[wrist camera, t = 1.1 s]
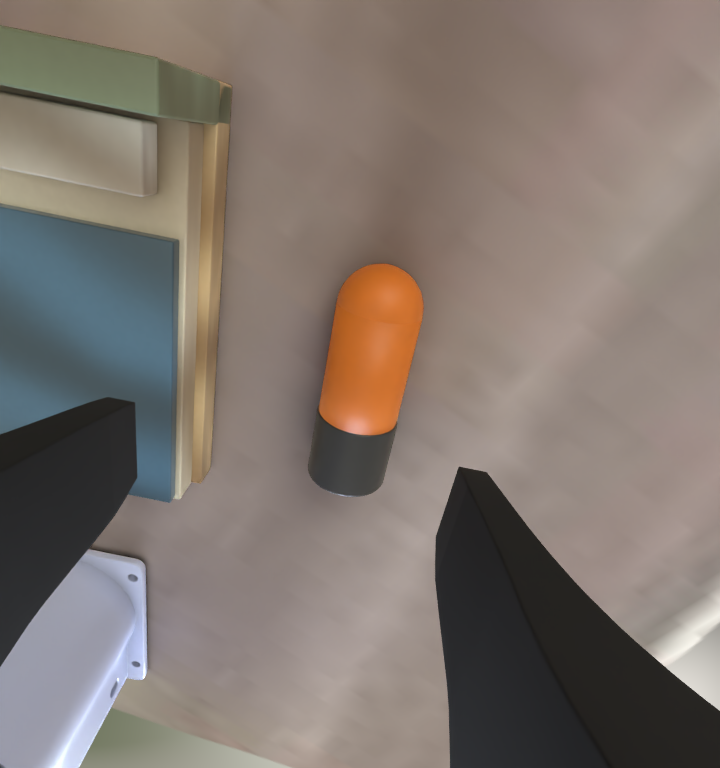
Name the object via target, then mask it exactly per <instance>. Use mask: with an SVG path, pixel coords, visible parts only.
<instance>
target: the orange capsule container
mask: <svg viewBox="0 0 720 768" xmlns="http://www.w3.org/2000/svg"><path fill="white" fill-rule="evenodd" d="M423 309H424V307H423V298H422V294H421V291H420V289H419V287H418V285H417V283H416V282H415V281H414V279H413V278H412V277H411V276H410V275H409V274H408V273H406V272H405V271H404V270H402V269H400V268H398V267H396V266H393V265H390V264H372V265H368V266H365V267H362V268H361V269H359V270H357V271H355V272H354V273H353V274H352V275H350V276H349V278H348V279H347V280H346V281H345V283H344V284H343V285H342V287H341V289H340V291H339V294H338V298H337V303H336V309H335V315H334V321H333V327H332V333H331V339H330V345H329V351H328V357H327V363H326V369H325V375H324V381H323V387H322V393H321V399H320V404H319V406H318V409H317V415H316V421H315V427H314V433H313V439H312V445H311V451H310V457H309V463H308V471H309V474H310V476H311V478H312V479H313V481H314V482H315V483H316V484H317V485H319V486H320V487H321V488H323V489H325V490H327V491H329V492H331V493H334V494H337V495H341V496H347V497H359V496H365V495H368V494H371V493H373V492H375V491H376V490H377V489H378V488H379V487H380V486H381V485H382V483H383V480H384V476H385V472H386V468H387V464H388V460H389V456H390V452H391V448H392V444H393V440H394V436H395V432H396V428H397V418H398V414H399V410H400V406H401V402H402V398H403V394H404V390H405V386H406V382H407V378H408V374H409V370H410V366H411V362H412V358H413V354H414V350H415V346H416V342H417V338H418V334H419V330H420V326H421V322H422V316H423Z"/></svg>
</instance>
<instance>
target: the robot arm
mask: <svg viewBox="0 0 720 768" xmlns="http://www.w3.org/2000/svg"><path fill="white" fill-rule="evenodd" d="M136 479H137V445H136V412H135V402H131V401H126V400H121V399H116V398H111V397H106V398H102V399H98V400H95V401H92V402H89V403H86V404H83V405H80V406H77V407H74V408H72V409H69V410H66V411H63V412H61V413H58V414H55V415H53V416H50V417H47V418H44V419H42V420H39V421H36V422H33V423H31V424H28V425H25V426H22V427H20V428H17V429H14V430H11V431H9V432H6V433H3V434H0V768H79V766H80V765H81V763H82V761H83V759H84V757H85V755H86V753H87V751H88V749H89V747H90V746H91V744H92V742H93V740H94V738H95V736H96V734H97V733H98V731H99V729H100V727H101V725H102V723H103V721H104V719H105V717H106V716H107V714H108V712H109V710H110V708H111V706H112V704H113V702H114V700H115V699H116V697H117V695H118V693H119V691H120V689H121V687H122V685H123V684H124V682H125V680H126V678H130V679H135V680H141V679H143V678H144V677H145V675H146V673H147V619H146V567H145V564H144V563H143V562H142V561H141V560H139V559H135V558H130V557H125V556H120V555H115V554H110V553H105V552H101V551H96V550H91V549H89V548H90V546H91V545H92V544H93V543H94V541H95V540H96V539H97V538H98V536H99V535H100V534H101V533H102V531H103V530H104V529H105V527H106V526H107V525H108V524H109V522H110V521H111V520H112V518H113V517H114V516H115V514H116V513H117V511H118V509H119V508H120V506H121V505H122V503H123V501H124V500H125V498H126V497H127V495H128V493H129V491H130V490H131V488H132V486H133V484H134V483H135V481H136ZM435 581H436V591H437V600H438V609H439V618H440V627H441V635H442V644H443V653H444V661H445V670H446V679H447V689H448V702H449V733H450V768H720V711H719V710H718V709H716V708H715V707H714V706H713V705H711V704H710V703H708V702H707V701H706V700H705V699H703V698H702V697H701V696H699V695H698V694H697V693H696V692H695V691H693V690H692V689H691V688H690V687H688V686H687V685H686V684H685V683H683V682H682V681H681V680H680V679H679V678H677V677H676V676H675V675H674V674H672V673H671V672H670V671H669V670H668V669H667V668H666V667H664V666H663V665H662V664H661V663H660V662H659V661H657V660H656V659H655V658H654V657H653V656H652V655H650V654H649V653H648V652H647V651H646V650H645V649H643V648H642V647H641V646H640V645H639V644H638V643H637V642H636V641H634V640H633V639H632V638H631V637H630V636H629V635H628V634H627V633H626V632H625V631H623V630H622V629H621V628H620V627H619V626H618V625H617V624H616V623H615V622H614V621H613V620H612V619H611V618H610V617H609V616H608V615H607V614H606V613H605V612H604V611H603V610H602V609H601V608H600V607H599V606H598V605H597V604H596V603H595V602H594V601H593V600H592V599H591V598H590V597H589V596H588V595H587V594H586V593H585V592H584V591H583V590H582V589H581V588H580V587H579V586H578V585H577V584H576V583H575V582H574V581H573V579H572V578H571V577H570V576H569V575H568V574H567V573H566V572H565V570H564V569H563V568H562V567H561V566H560V565H559V564H558V562H557V561H556V560H555V559H554V558H553V557H552V556H551V554H550V553H549V552H548V551H547V550H546V548H545V547H544V546H543V545H542V544H541V542H540V541H539V540H538V539H537V538H536V536H535V535H534V534H533V533H532V531H531V530H530V529H529V527H528V526H527V525H526V524H525V522H524V521H523V520H522V518H521V517H520V516H519V515H518V513H517V512H516V511H515V509H514V508H513V507H512V505H511V504H510V503H509V501H508V500H507V499H506V497H505V496H504V495H503V493H502V492H501V491H500V489H499V488H498V486H497V485H496V484H495V482H494V481H493V480H492V479H491V477H490V476H489V475H488V474H487V472H483V471H478V470H473V469H468V468H463V467H459V468H458V471H457V474H456V477H455V480H454V483H453V486H452V489H451V492H450V495H449V499H448V502H447V505H446V508H445V511H444V514H443V517H442V520H441V523H440V526H439V529H438V532H437V535H436V555H435Z"/></svg>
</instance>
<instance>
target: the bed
mask: <svg viewBox="0 0 720 768" xmlns="http://www.w3.org/2000/svg"><path fill="white" fill-rule="evenodd" d="M231 96H232V86H231V85H229V84H226V83H224V82H221V81H218V80H215V79H213V78H210V77H207V76H205V75H202V74H200V73H197V72H194V71H192V70H189V69H186V68H184V67H181V66H178V65H176V64H173V63H171V62H168V61H165V60H163V59H160V58H157V57H153V56H148V55H144V54H139V53H134V52H129V51H124V50H119V49H114V48H109V47H104V46H100V45H95V44H90V43H85V42H80V41H75V40H70V39H65V38H60V37H55V36H51V35H46V34H41V33H36V32H31V31H26V30H21V29H16V28H11V27H7V26H2V25H0V434H3V433H6V432H9V431H11V430H14V429H17V428H20V427H22V426H25V425H28V424H31V423H33V422H36V421H39V420H42V419H44V418H47V417H50V416H53V415H55V414H58V413H61V412H63V411H66V410H69V409H72V408H74V407H77V406H80V405H83V404H86V403H89V402H92V401H95V400H98V399H102V398H106V397H111V398H116V399H121V400H126V401H131V402H135V412H136V445H137V479H136V481H135V483H134V484H133V486H132V488H131V490H130V491H129V493H128V494H129V495H134V496H139V497H144V498H149V499H154V500H159V501H163V502H168V503H170V502H171V501H172V499H173V498H175V499H181V497H182V496H183V494H184V493H185V491H186V490H187V488H188V487H189V485H190V484H191V482H194V483H199V484H201V482H202V481H203V479H204V478H205V476H206V474H207V473H208V471H209V470H210V467H211V449H212V432H213V414H214V396H215V379H216V361H217V343H218V326H219V308H220V290H221V273H222V255H223V237H224V220H225V202H226V185H227V167H228V149H229V132H230V114H231Z"/></svg>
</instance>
